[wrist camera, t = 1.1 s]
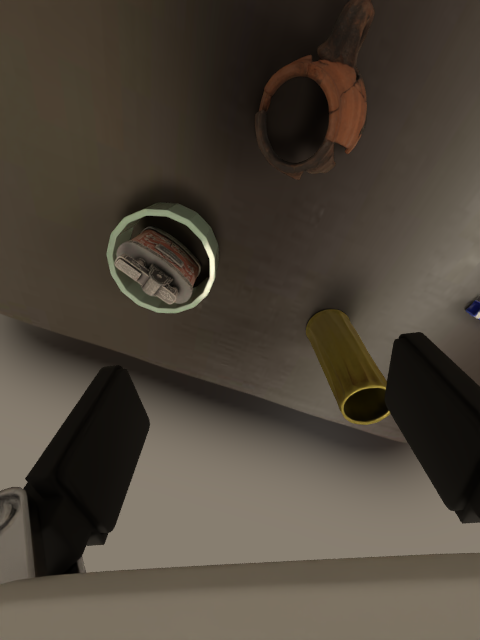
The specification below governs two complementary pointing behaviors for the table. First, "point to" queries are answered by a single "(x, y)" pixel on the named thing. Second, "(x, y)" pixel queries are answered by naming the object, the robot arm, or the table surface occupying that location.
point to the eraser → (474, 309)
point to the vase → (348, 367)
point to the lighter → (159, 265)
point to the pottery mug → (327, 91)
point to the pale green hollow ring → (133, 287)
